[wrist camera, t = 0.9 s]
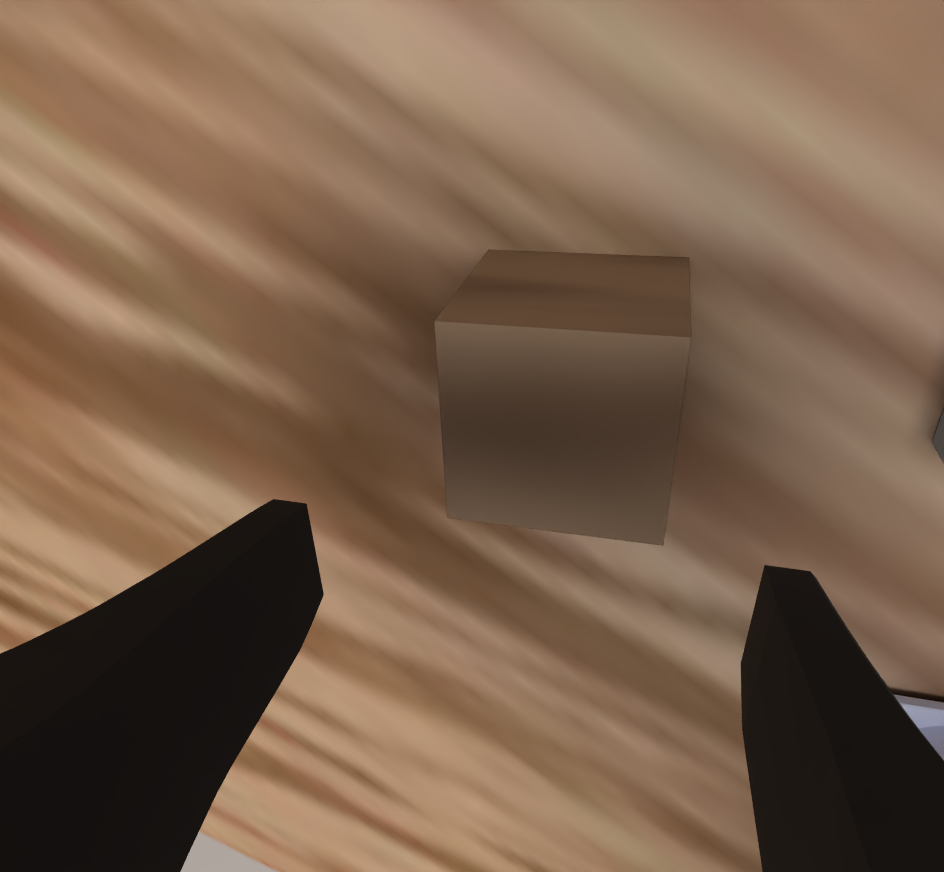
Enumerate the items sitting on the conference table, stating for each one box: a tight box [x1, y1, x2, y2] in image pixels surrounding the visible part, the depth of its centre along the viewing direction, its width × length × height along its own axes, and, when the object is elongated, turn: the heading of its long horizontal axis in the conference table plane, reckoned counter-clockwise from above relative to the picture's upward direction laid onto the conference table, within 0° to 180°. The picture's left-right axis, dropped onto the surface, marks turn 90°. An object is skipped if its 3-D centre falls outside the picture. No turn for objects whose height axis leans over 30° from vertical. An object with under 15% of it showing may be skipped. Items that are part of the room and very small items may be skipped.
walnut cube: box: [434, 250, 691, 545], centre depth 17 cm, size 5×5×5 cm
